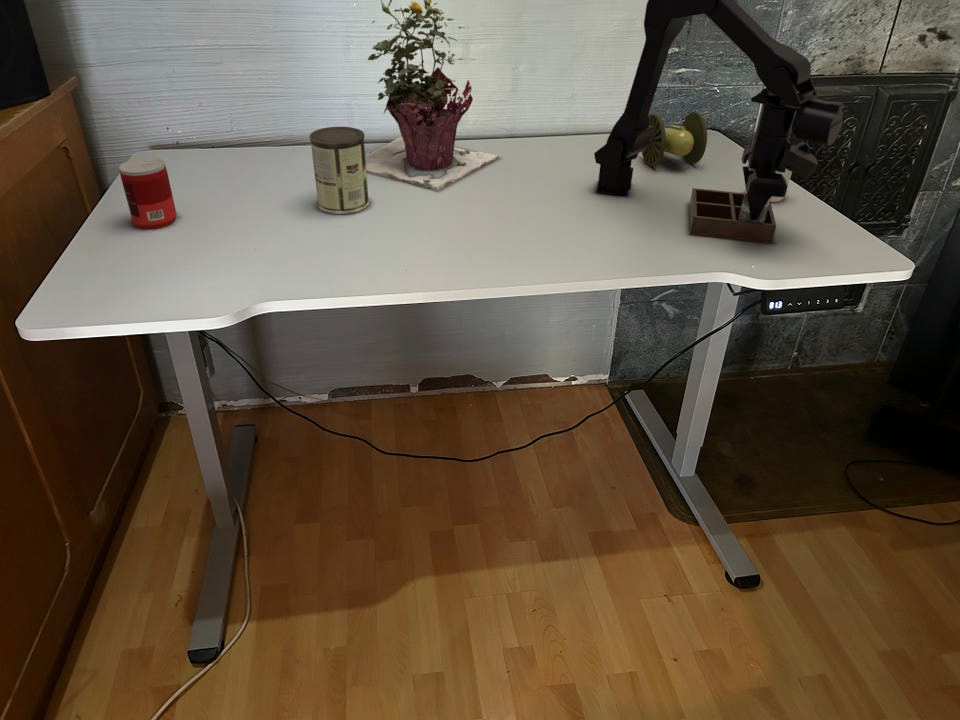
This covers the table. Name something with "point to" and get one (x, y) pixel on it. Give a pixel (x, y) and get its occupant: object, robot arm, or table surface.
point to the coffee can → (340, 169)
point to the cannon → (677, 139)
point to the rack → (726, 217)
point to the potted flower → (422, 109)
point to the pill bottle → (745, 211)
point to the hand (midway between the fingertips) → (752, 214)
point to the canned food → (148, 192)
